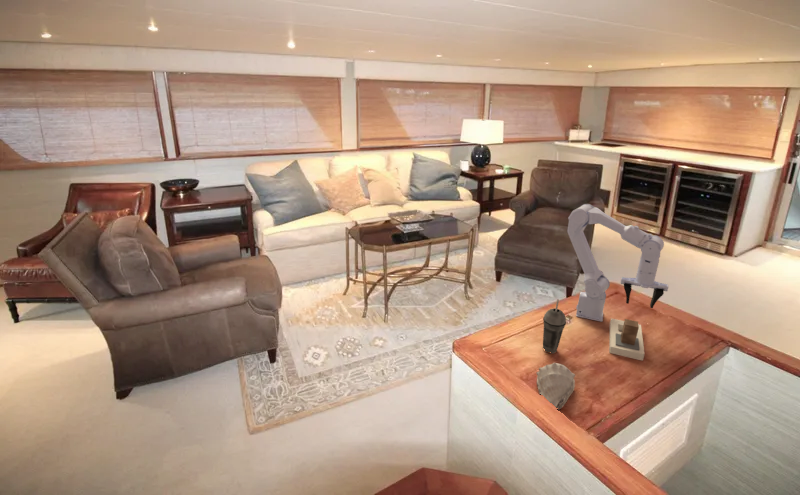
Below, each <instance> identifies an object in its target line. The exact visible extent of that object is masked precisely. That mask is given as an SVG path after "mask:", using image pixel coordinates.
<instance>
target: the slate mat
mask: <svg viewBox="0 0 800 495" xmlns="http://www.w3.org/2000/svg"><path fill="white" fill-rule="evenodd" d="M616 346H621V347H625V348H629V349H634V350H638V351H639V339H638V338H636V340H635V344H634V345H631V344H626V343H622V342H621V334H617V333H616Z"/></svg>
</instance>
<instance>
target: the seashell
mask: <svg viewBox="0 0 800 495" xmlns="http://www.w3.org/2000/svg"><path fill="white" fill-rule="evenodd" d="M536 376H537V377H536V386H537V390H538V393H539V395H540V394H541V395H543V396H544V397H545V398H546V399H547V400H548V401H549V402H550V403H552V404H553V405H554V406H555V407H556V408H558V410H560V409H562V408H563V407H564V406H565V405H566V403H567V401H568V399H569V398H570V396H571V395H572V394H573V392H574V390H575V387H576V381H575V376H576V373H573V372H572V371H571V370H570V369H569V368H568V366H566V365H564V364H562V363H557V362H553V363H551V364H546V365H544V366H543V367H539V368H538V371H536Z"/></svg>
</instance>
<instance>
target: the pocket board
mask: <svg viewBox="0 0 800 495" xmlns="http://www.w3.org/2000/svg"><path fill="white" fill-rule="evenodd" d="M624 321H625V320H622V319H616V318H610V320H609V342H608V343H609V345H608V346H609V353H608V354H613V355H617V356H621V357H625V358H630V359H633V360H638V361H644V358H645V347H644V346H645V345H644V339H643V338H644V337H643V331H642V330H643V329H642V324H639V323H638V325H639V329H638V333H637V336H636V338H638V339H639V351H638V350H634V349H629V348H625V347H621V346H616V333H617V334H621V333H622V329H623V325H624Z"/></svg>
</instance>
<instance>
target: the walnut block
mask: <svg viewBox="0 0 800 495" xmlns="http://www.w3.org/2000/svg"><path fill="white" fill-rule="evenodd" d="M623 321H624V325H623V329H622V331H621V332H622V333H621V342H622V343H626V344H631V345H634V344H635V340H636V336H637V333H638V329H639V325H638V324H639V321H637V320H632V319H627V318H624V320H623Z"/></svg>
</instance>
